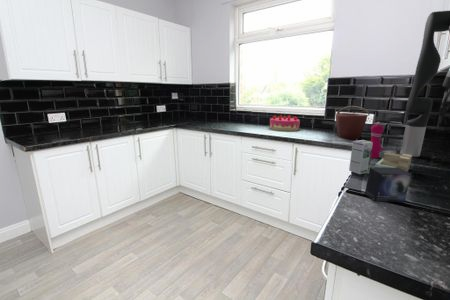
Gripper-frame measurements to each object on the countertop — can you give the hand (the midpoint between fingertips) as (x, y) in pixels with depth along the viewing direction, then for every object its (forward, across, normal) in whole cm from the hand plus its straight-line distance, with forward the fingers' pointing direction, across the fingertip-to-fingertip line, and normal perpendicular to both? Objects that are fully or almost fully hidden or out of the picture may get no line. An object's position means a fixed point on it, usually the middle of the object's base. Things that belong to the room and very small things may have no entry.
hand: (440, 115), depth 107 cm
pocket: (+26, +14, -11) cm, 32 cm away
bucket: (+40, -58, -47) cm, 84 cm away
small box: (+20, +56, -7) cm, 60 cm away
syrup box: (+25, +31, -21) cm, 45 cm away
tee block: (+26, +14, -9) cm, 31 cm away
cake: (+49, -59, -105) cm, 130 cm away
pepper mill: (+30, -4, -21) cm, 37 cm away
